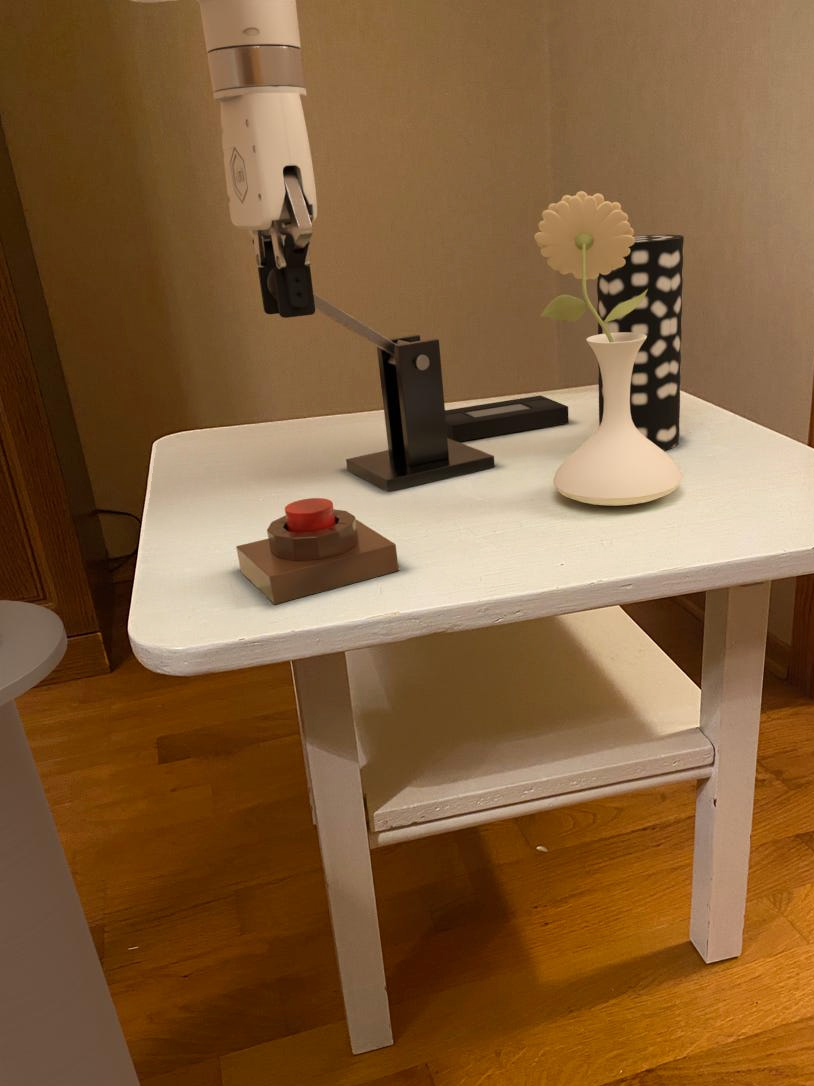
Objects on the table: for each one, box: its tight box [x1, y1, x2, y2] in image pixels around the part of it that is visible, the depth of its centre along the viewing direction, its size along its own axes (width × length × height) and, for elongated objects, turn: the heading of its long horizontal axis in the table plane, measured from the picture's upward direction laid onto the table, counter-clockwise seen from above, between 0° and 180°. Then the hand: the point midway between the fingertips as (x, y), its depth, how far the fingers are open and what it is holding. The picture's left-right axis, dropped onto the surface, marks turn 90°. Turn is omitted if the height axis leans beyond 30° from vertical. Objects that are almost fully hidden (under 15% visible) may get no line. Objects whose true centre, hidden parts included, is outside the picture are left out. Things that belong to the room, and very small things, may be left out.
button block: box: [235, 508, 399, 605], centre depth 74 cm, size 10×8×4 cm
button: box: [284, 497, 336, 533], centre depth 72 cm, size 4×4×2 cm
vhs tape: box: [445, 395, 570, 443], centre depth 111 cm, size 8×14×2 cm, turn 112°
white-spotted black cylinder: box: [596, 234, 685, 452], centre depth 97 cm, size 8×8×20 cm
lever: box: [267, 266, 409, 367], centre depth 89 cm, size 17×3×3 cm
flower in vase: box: [533, 190, 684, 506], centre depth 81 cm, size 13×11×25 cm
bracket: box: [345, 334, 496, 493], centre depth 95 cm, size 12×10×13 cm
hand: (289, 312), depth 86 cm, fingers closed on lever, 3 cm apart
